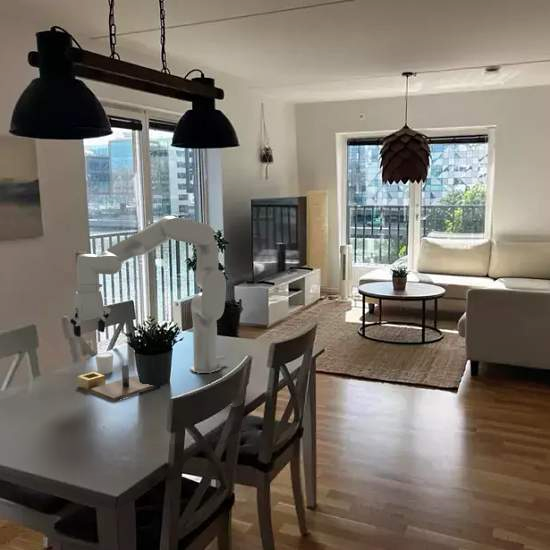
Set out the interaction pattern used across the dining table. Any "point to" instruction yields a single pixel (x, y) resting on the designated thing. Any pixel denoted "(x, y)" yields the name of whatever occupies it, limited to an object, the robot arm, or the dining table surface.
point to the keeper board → (120, 389)
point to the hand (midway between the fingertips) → (89, 333)
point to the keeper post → (125, 375)
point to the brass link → (91, 380)
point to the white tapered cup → (104, 363)
